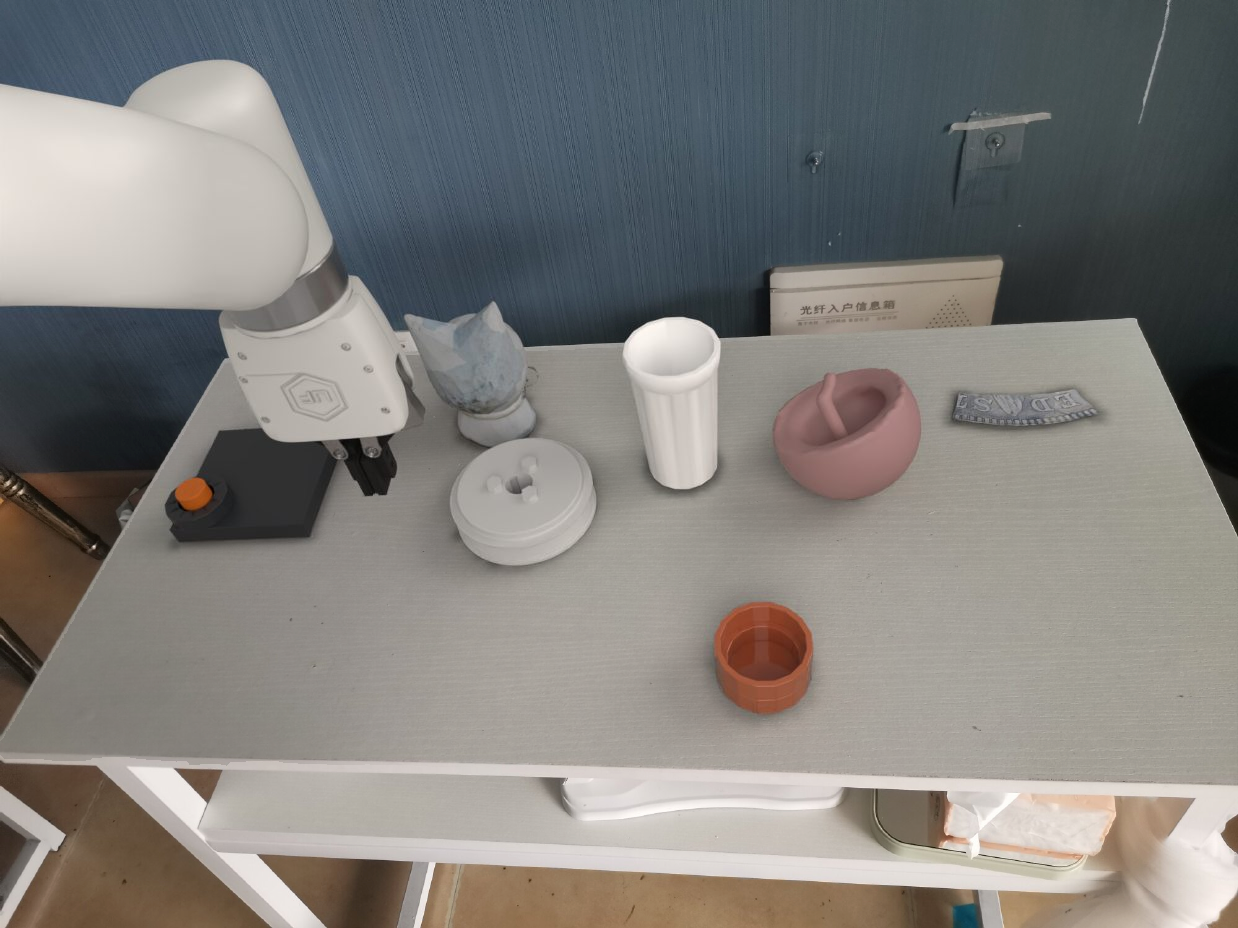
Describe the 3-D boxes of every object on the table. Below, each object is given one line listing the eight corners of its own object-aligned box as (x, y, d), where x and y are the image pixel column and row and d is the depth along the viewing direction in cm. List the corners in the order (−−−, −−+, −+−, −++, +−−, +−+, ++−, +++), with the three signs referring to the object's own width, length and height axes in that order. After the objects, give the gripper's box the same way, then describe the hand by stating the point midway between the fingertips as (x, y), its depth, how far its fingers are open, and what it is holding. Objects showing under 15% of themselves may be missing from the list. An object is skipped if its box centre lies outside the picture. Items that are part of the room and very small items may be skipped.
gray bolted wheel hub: (436, 509, 82) (421, 473, 78) (551, 443, 86) (541, 406, 82) (502, 597, 74) (489, 561, 71) (625, 520, 78) (618, 483, 74)
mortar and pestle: (805, 413, 84) (809, 317, 76) (931, 451, 79) (949, 352, 71) (750, 500, 78) (748, 406, 70) (883, 547, 73) (898, 452, 64)
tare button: (206, 510, 81) (198, 499, 80) (178, 511, 82) (169, 501, 80) (217, 487, 83) (209, 476, 82) (189, 488, 84) (181, 478, 82)
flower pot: (815, 716, 64) (817, 685, 60) (718, 717, 64) (715, 687, 61) (806, 633, 68) (807, 600, 65) (716, 635, 69) (713, 603, 66)
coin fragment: (1089, 389, 82) (1090, 385, 81) (1104, 425, 78) (1106, 422, 78) (946, 394, 84) (947, 391, 83) (955, 430, 80) (956, 426, 80)
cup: (645, 506, 79) (626, 388, 69) (635, 442, 85) (616, 324, 74) (735, 492, 79) (729, 371, 68) (719, 429, 84) (712, 308, 74)
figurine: (557, 394, 91) (527, 273, 80) (520, 458, 85) (483, 336, 74) (473, 381, 94) (433, 262, 83) (432, 441, 88) (384, 322, 77)
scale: (308, 540, 81) (293, 515, 79) (174, 545, 83) (155, 522, 81) (346, 436, 90) (333, 411, 88) (224, 443, 92) (208, 419, 90)
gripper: (144, 330, 52) (272, 526, 65) (389, 308, 50) (469, 514, 64) (189, 257, 57) (299, 453, 70) (413, 235, 55) (483, 439, 69)
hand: (380, 481), depth 67 cm, fingers closed
